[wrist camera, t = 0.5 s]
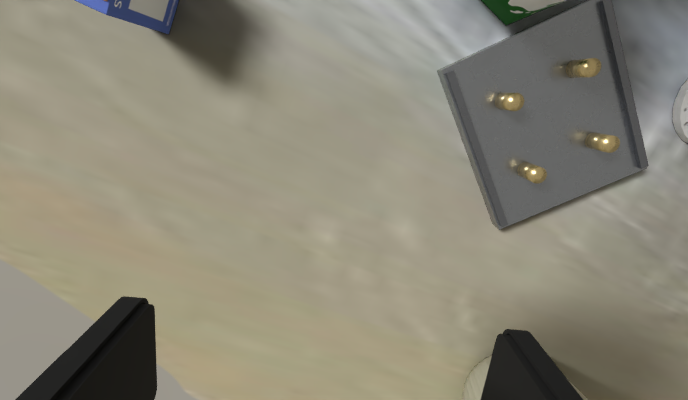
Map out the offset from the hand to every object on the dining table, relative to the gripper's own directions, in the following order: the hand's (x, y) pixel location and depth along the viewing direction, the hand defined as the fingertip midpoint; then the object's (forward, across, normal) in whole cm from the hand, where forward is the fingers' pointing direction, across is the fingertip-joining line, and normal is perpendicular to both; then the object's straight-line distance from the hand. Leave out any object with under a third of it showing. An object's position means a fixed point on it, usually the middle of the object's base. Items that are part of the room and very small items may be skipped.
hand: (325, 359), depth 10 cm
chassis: (+36, -24, -6) cm, 43 cm away
